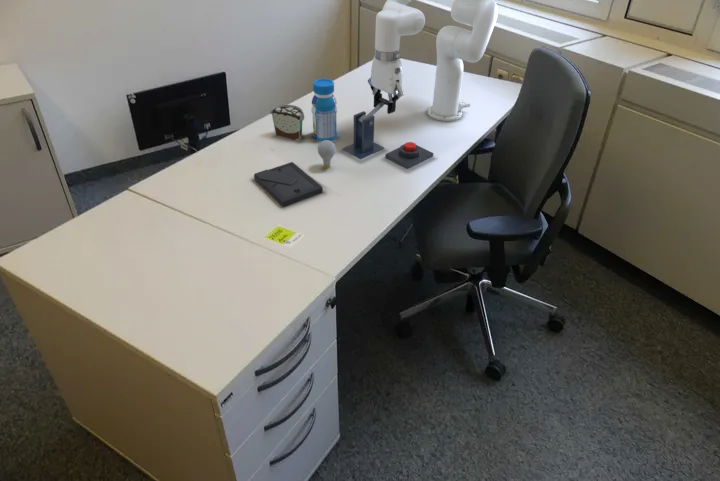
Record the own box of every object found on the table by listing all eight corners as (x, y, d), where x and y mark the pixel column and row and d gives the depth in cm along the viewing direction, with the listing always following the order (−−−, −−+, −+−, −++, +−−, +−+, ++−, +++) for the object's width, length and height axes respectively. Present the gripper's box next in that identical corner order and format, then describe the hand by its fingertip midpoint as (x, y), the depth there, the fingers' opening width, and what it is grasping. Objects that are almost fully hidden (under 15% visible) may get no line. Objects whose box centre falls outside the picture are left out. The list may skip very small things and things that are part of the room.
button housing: (410, 147, 182) (411, 137, 180) (432, 159, 177) (434, 148, 174) (385, 159, 176) (385, 148, 173) (407, 171, 170) (408, 160, 168)
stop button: (409, 145, 176) (409, 140, 175) (417, 149, 174) (418, 144, 173) (401, 149, 174) (402, 144, 173) (410, 153, 172) (410, 148, 171)
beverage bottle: (325, 146, 182) (323, 89, 170) (307, 138, 187) (304, 82, 174) (342, 138, 187) (342, 82, 175) (325, 130, 191) (323, 75, 179)
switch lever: (381, 100, 178) (379, 94, 177) (393, 105, 175) (391, 99, 173) (356, 123, 175) (354, 118, 173) (367, 129, 172) (365, 123, 170)
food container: (312, 135, 188) (310, 108, 182) (303, 142, 184) (301, 115, 178) (281, 127, 192) (279, 101, 186) (272, 135, 188) (269, 108, 182)
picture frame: (254, 179, 165) (283, 207, 154) (253, 173, 164) (282, 200, 153) (292, 167, 171) (322, 192, 160) (292, 160, 170) (322, 186, 159)
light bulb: (329, 176, 168) (328, 147, 161) (315, 171, 170) (313, 142, 164) (339, 168, 171) (338, 139, 165) (325, 163, 173) (324, 135, 167)
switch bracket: (366, 141, 186) (366, 106, 178) (384, 150, 180) (386, 115, 172) (341, 151, 180) (341, 116, 172) (360, 162, 174) (361, 125, 167)
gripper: (416, 58, 163) (411, 114, 175) (376, 44, 173) (374, 98, 184) (398, 64, 159) (395, 121, 171) (358, 49, 169) (358, 104, 180)
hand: (384, 108), depth 177 cm, fingers closed on switch lever, 5 cm apart
